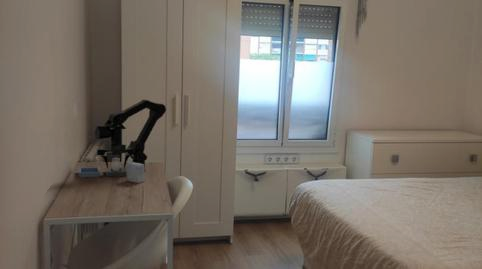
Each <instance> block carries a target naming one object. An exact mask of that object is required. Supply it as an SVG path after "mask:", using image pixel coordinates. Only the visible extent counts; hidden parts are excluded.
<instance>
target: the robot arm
mask: <svg viewBox="0 0 482 269" xmlns="http://www.w3.org/2000/svg"><path fill="white" fill-rule="evenodd" d="M145 109H147V110H149V113H148V117H147V120H146V121H145V124H144V125H143V127H142V129H141V130H140V132H139V134H138V137H137V138H136V140H134V141H133V140H131V141H130V143H129V145H128V146H127V145H126V144H123V138H122V137H123V135H122V134H123V130H126V129H127V127H126V126H124V123H125V122H127V120H128V119H129V118H130V117H132V116H134V115H137V113H139V112H141V111H143V110H145ZM166 111H167V108H166V106H165V104H164V103H159V102H154V101H151V100H148V99H142V100H140V101H139V102H137V103H135V104H133V105H131V106H129V107H127V108H125V109H123V110H119V111H115V112H112V113H110V114H109V115H108V119H107V121H106V122H105V124H104V125H96V128H95V130H94V138H95V139H96V140H107V139H109V142H110V143H109V146H110V148H109V149H106V148H105V147H100V148H97V149H96V156H100V157H101V158H102V159H103V160H104V162H105V165H106V168H109V163H108V160H109V159H108V155H107V154H111V155H113V156H115V155H118V156H120V155H122V154H124V158H123V167H124V168H126V166H127V162H128V160H129V158H130V159H131V160H132V161H131V162H134V163H140V164H144V172H146V168H145V167H146V161H147V159H148V156H147V154H145V148H146V147H145V146H146V142H147V141H148V139H149V136H150V135H151V133H152V131H153V129H154V127H155V125H156V123H157V121H159V120H160V119H161V118H163V116H164V114H165V113H166Z"/></svg>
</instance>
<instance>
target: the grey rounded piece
mask: <svg viewBox="0 0 482 269" xmlns="http://www.w3.org/2000/svg"><path fill="white" fill-rule="evenodd" d="M120 161H121V158H120V157H112V158H111V162H112V166H111V168H112V171H120V168H121V166H120V165H121V164H120V163H121V162H120Z"/></svg>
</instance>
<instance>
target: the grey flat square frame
mask: <svg viewBox="0 0 482 269" xmlns="http://www.w3.org/2000/svg"><path fill="white" fill-rule="evenodd" d="M105 171H106V172H105ZM105 171H104V172H105V177H121V176H124V177H127V167H125V168H124V166H123V167H120V171H112V167H108V168H107V167H105Z"/></svg>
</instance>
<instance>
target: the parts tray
mask: <svg viewBox="0 0 482 269" xmlns="http://www.w3.org/2000/svg"><path fill="white" fill-rule="evenodd" d="M84 177H89V178H101V169H100V166H92V167H91V166H90V167H89V166H88V167H86V166H85V167H83V166H82V167H78V179H81V178H84Z"/></svg>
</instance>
